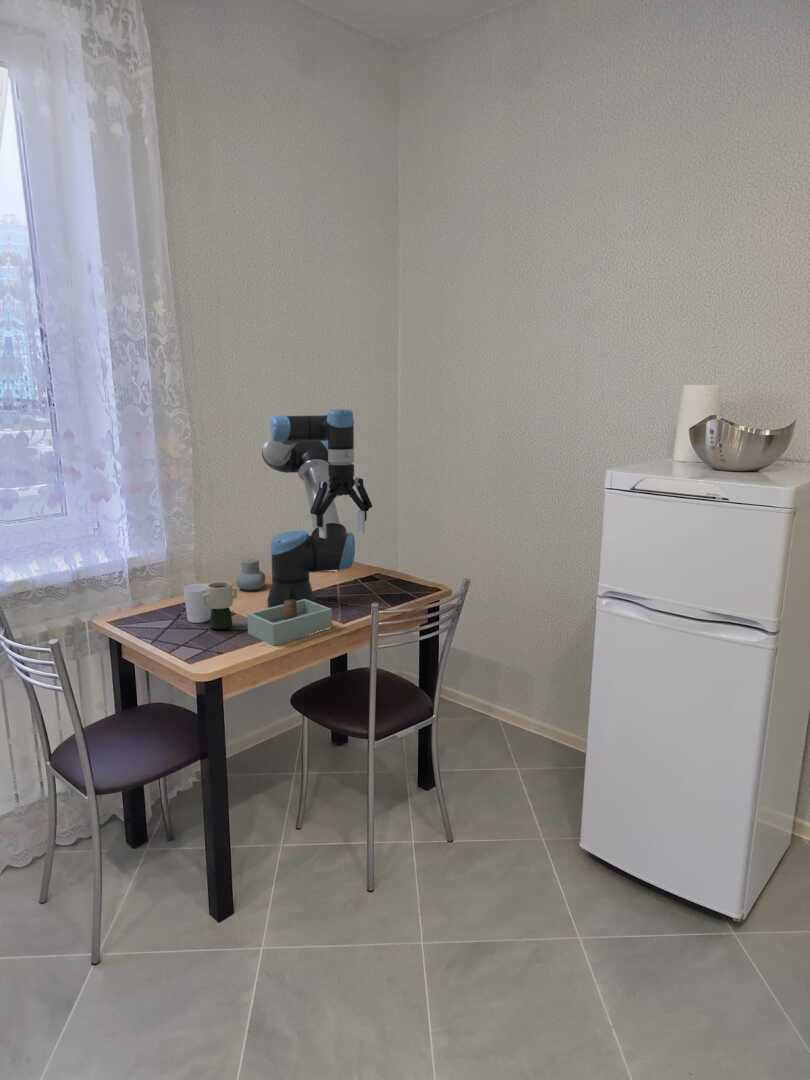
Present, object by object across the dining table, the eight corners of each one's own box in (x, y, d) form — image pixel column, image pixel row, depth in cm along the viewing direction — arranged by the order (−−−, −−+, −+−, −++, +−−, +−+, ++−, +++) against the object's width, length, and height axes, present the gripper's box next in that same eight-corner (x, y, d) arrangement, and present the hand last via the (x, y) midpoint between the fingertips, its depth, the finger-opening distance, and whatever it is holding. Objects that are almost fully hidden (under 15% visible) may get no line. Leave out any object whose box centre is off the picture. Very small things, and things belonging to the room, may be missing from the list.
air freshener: (243, 583, 251) (242, 556, 248) (266, 584, 250) (265, 556, 248) (235, 592, 240) (233, 564, 238) (259, 593, 240) (258, 564, 237)
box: (273, 645, 192) (273, 625, 191) (248, 633, 202) (247, 613, 200) (332, 628, 206) (331, 608, 205) (305, 617, 215) (305, 598, 214)
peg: (292, 634, 201) (291, 603, 199) (282, 632, 203) (281, 602, 201) (299, 630, 204) (298, 600, 202) (290, 628, 206) (289, 598, 204)
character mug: (232, 620, 212) (230, 578, 210) (244, 626, 207) (242, 583, 204) (198, 628, 205) (195, 585, 202) (210, 635, 200) (207, 591, 197)
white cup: (181, 618, 214) (179, 586, 212) (206, 613, 219) (204, 582, 217) (192, 625, 208) (190, 592, 206) (217, 620, 213) (215, 587, 211)
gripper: (310, 467, 197) (312, 542, 201) (383, 461, 212) (383, 531, 216) (297, 465, 202) (299, 537, 207) (368, 459, 217) (369, 527, 222)
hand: (342, 534), depth 211 cm, fingers open, 13 cm apart
